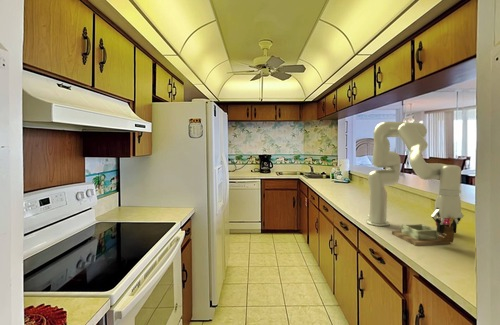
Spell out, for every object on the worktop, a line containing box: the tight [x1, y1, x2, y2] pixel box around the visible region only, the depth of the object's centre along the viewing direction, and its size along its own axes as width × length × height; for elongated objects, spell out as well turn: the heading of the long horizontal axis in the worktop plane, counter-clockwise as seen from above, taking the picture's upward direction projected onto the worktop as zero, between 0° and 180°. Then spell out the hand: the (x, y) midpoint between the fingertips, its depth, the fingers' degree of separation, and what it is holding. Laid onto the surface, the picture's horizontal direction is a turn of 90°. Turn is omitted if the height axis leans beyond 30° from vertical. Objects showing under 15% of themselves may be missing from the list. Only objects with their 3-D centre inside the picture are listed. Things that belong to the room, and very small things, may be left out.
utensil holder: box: [438, 217, 455, 244], centre depth 135 cm, size 6×6×12 cm
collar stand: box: [391, 223, 451, 246], centre depth 148 cm, size 18×18×6 cm
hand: (446, 232), depth 135 cm, fingers closed on utensil holder, 5 cm apart
